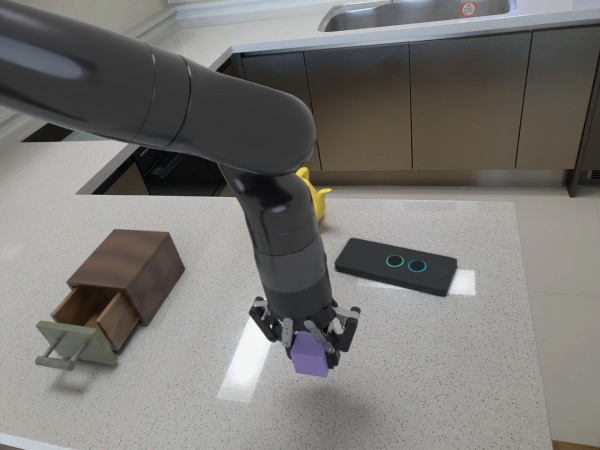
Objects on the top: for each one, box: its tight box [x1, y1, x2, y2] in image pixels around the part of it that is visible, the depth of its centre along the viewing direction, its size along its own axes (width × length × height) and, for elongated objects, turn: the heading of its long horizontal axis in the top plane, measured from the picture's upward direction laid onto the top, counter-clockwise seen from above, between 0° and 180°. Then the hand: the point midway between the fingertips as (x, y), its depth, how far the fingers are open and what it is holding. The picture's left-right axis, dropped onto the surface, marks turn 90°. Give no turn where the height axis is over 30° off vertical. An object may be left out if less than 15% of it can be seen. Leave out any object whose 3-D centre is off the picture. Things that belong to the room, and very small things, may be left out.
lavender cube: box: [290, 331, 330, 378], centre depth 59 cm, size 4×4×4 cm
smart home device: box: [333, 237, 458, 297], centre depth 81 cm, size 8×2×20 cm
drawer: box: [34, 286, 140, 372], centre depth 77 cm, size 18×11×8 cm, turn 163°
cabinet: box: [65, 228, 186, 327], centre depth 85 cm, size 15×13×10 cm
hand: (315, 360), depth 60 cm, fingers closed on lavender cube, 4 cm apart
